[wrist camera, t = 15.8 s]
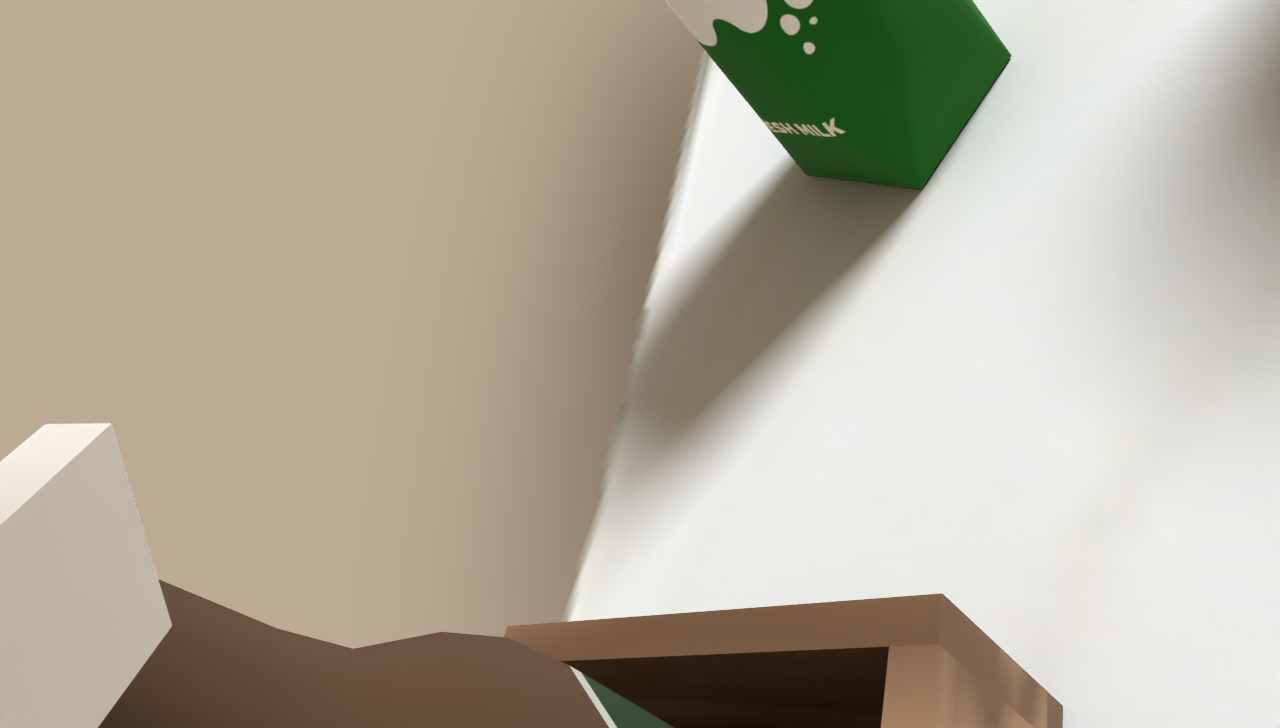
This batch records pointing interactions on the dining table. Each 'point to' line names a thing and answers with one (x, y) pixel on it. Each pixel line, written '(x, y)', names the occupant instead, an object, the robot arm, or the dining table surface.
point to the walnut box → (806, 666)
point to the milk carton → (854, 77)
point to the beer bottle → (353, 681)
